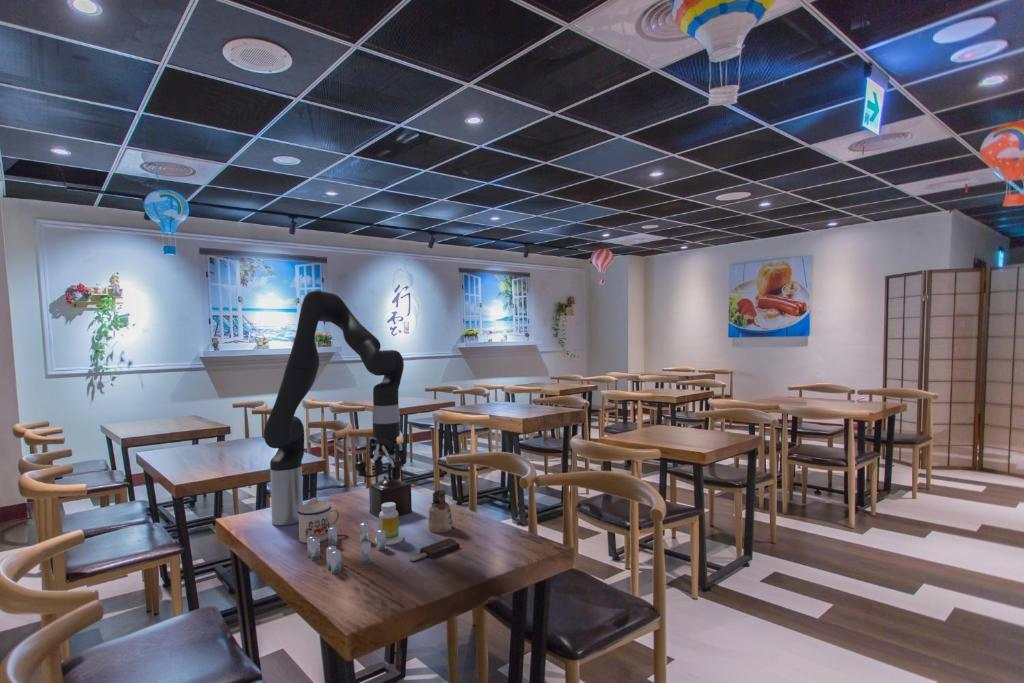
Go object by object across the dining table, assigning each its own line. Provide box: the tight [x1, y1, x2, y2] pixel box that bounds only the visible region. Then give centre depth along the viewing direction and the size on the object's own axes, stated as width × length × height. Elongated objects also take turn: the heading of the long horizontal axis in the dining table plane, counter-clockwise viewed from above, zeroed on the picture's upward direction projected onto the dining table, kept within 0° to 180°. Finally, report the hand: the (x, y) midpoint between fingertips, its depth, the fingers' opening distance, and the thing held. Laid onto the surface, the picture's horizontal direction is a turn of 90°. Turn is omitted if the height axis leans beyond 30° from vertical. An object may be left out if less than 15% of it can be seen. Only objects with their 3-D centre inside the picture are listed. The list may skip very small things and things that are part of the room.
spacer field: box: [306, 521, 387, 575], centre depth 142 cm, size 19×18×5 cm
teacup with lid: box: [298, 497, 341, 544], centre depth 155 cm, size 12×9×12 cm
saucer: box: [374, 532, 404, 546], centre depth 151 cm, size 8×8×1 cm
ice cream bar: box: [409, 538, 460, 562], centre depth 141 cm, size 5×2×15 cm
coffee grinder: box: [353, 460, 413, 519], centre depth 173 cm, size 16×11×18 cm
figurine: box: [428, 488, 453, 534], centre depth 159 cm, size 7×7×12 cm
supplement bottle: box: [378, 502, 400, 541], centre depth 151 cm, size 5×5×10 cm
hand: (387, 477), depth 151 cm, fingers open, 8 cm apart
